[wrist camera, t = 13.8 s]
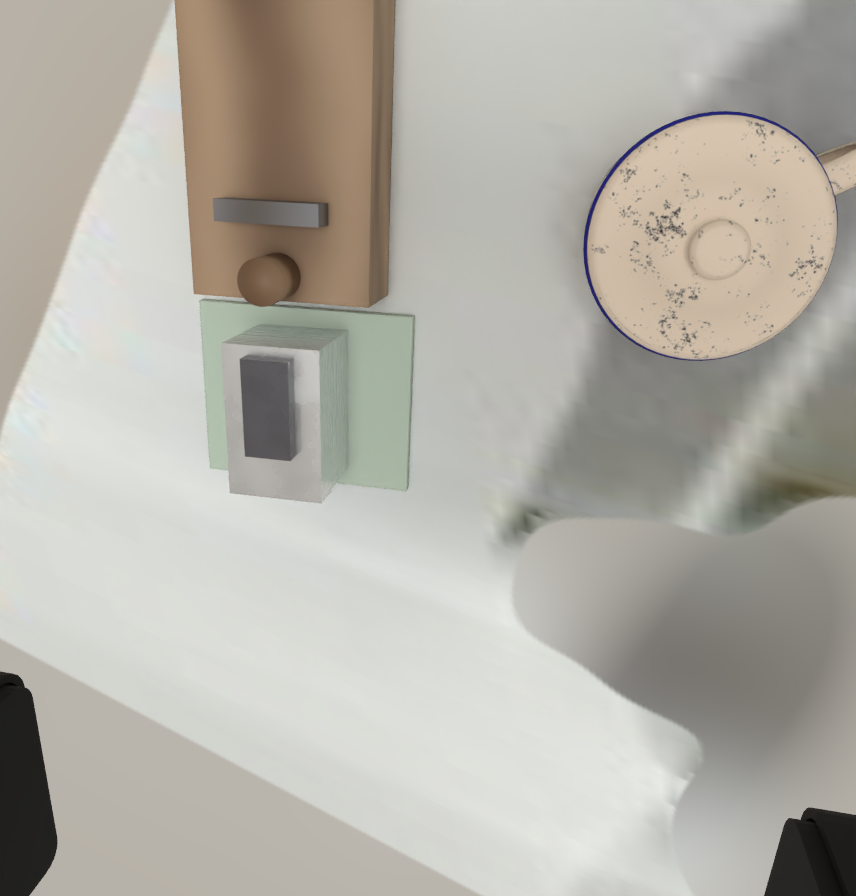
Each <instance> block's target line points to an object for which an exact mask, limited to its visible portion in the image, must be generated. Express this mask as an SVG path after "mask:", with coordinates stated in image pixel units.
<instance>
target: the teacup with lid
mask: <svg viewBox="0 0 856 896" xmlns="http://www.w3.org/2000/svg"><path fill="white" fill-rule="evenodd" d="M855 186H856V141H854V142H851V143H848V144H845V145H842V146H839V147H836V148H833V149H831V150H828V151H826V152H823V153H821V154H818V155H815V154H814V152H813V151H812V150H811V149H810V148H809V147H808V146H807V144H805V143H804V142H803V141H802V140H801V139H800V138H799V137H798V136H796V135H795V134H794V133H792V132H791V131H789V130H788V129H786V128H785V127H783V126H781V125H779V124H777V123H775V122H773V121H770V120H768V119H765V118H763V117H759V116H755V115H752V114H746V113H740V112H727V111H723V112H709V113H701V114H697V115H692V116H688V117H685V118H682V119H679V120H676V121H673V122H671V123H669V124H667V125H665V126H662V127H661V128H659V129H657V130H655V131H654V132H652V133H650V134H649V135H647V136H646V137H644V138H643V139H641V140H640V141H639V142H638V143H636V144H635V145H634V146H633V147H632V148H630V149H629V150H628V151H627V152H626V153H625V154H624V155H623V156H622V157H621V158H620V159H619V160H618V161H617V162H616V163H615V164H614V165H613V167H612V168H611V169H610V170H609V171H608V173H607V174H606V176H605V177H604V179H603V180H602V182H601V183H600V185H599V187H598V189H597V191H596V193H595V195H594V198H593V201H592V204H591V206H590V211H589V215H588V219H587V223H586V228H585V235H584V264H585V270H586V275H587V279H588V283H589V286H590V289H591V291H592V294H593V296H594V298H595V300H596V302H597V304H598V306H599V308H600V309H601V311H602V312H603V314H604V315H605V317H606V318H607V319H608V320H609V322H610V323H611V324H612V325H613V326H614V327H615V328H616V329H617V330H618V331H619V332H620V333H621V334H623V335H624V336H625V337H626V338H628V339H629V340H631V341H632V342H633V343H635V344H637V345H638V346H640V347H642V348H644V349H646V350H648V351H651V352H653V353H656V354H659V355H662V356H665V357H669V358H674V359H681V360H693V361H702V360H714V359H720V358H725V357H729V356H733V355H737V354H740V353H742V352H745V351H748V350H750V349H752V348H755V347H757V346H759V345H761V344H763V343H764V342H766V341H768V340H770V339H771V338H773V337H774V336H776V335H777V334H779V333H780V332H781V331H783V330H784V329H785V328H786V327H787V326H789V325H790V324H791V323H792V322H793V321H794V320H795V319H796V318H797V317H798V316H799V315H800V314H801V313H802V312H803V311H804V309H805V308H806V307H807V306H808V305H809V303H810V302H811V301H812V299H813V298H814V296H815V295H816V293H817V292H818V290H819V288H820V287H821V285H822V283H823V281H824V279H825V277H826V275H827V272H828V270H829V267H830V264H831V262H832V258H833V254H834V251H835V246H836V239H837V229H838V217H837V206H836V200H835V195H838V194H840V193H842V192H844V191H846V190H849V189H851V188H853V187H855Z"/></svg>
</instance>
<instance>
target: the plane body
mask: <svg viewBox="0 0 856 896" xmlns="http://www.w3.org/2000/svg"><path fill="white" fill-rule="evenodd" d="M175 13H176V28H177V44H178V59H179V74H180V89H181V105H182V120H183V135H184V150H185V166H186V181H187V196H188V211H189V227H190V242H191V257H192V272H193V288H194V294H201V295H214V296H226V297H239V298H244V299H245V300H246V301H248V302H249V303H251V304H252V305H255V306H258V307H267V306H270V305H272V304H274V303H277V302H279V301H290V302H303V303H315V304H328V305H341V306H353V307H366V308H369V307H370V306H372V305H373V304H375V303H376V302H378V301H379V300H381V299H382V298H384V297H385V296H387V295H388V260H389V221H390V182H391V143H392V104H393V64H394V25H395V0H175Z"/></svg>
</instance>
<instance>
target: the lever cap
mask: <svg viewBox="0 0 856 896" xmlns="http://www.w3.org/2000/svg"><path fill="white" fill-rule="evenodd" d="M221 358H222V374H223V390H224V406H225V422H226V437H227V453H228V469H229V485H230V493H234V494H243V495H252V496H261V497H270V498H278V499H287V500H296V501H305V502H314V503H322V502H323V501H324V499H325V498H326V497H327V496H328V494H329V493H330V492H331V490H332V489H333V488H334V486H335V485H336V484H337V482H338V481H339V480H340V478H341V477H342V476H343V474H344V473H345V472H346V470H347V469H348V330H339V329H325V328H312V327H298V326H285V325H271V324H258V325H256V326H254V327H252V328H250V329H248V330H246V331H244V332H242V333H240V334H238V335H236V336H234V337H232V338H230V339H228V340H226V341H224V342H222V343H221Z"/></svg>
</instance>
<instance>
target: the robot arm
mask: <svg viewBox="0 0 856 896" xmlns="http://www.w3.org/2000/svg"><path fill="white" fill-rule="evenodd" d="M56 849H57V834H56V828H55V823H54V817H53V811H52V805H51V800H50V794H49V789H48V783H47V777H46V771H45V765H44V760H43V754H42V748H41V742H40V737H39V731H38V725H37V720H36V714H35V708H34V702H33V697H32V694H31V692H30V691H29V690H28V689H27V688H25V687H24V683H23V681H22V679H21V678H20V677H19V676H18V675H15V674H11V673H5V672H0V896H29V895H30V894H31V893H32V891H33V890H34V889H35V887H36V886H37V885H38V883H39V882H40V881H41V879H42V878H43V876H44V875H45V874H46V872H47V871H48V869H49V868H50V866H51V864H52V862H53V860H54V856H55V853H56ZM764 896H856V815H852V814H846V813H840V812H834V811H828V810H822V809H815V808H807V809H806V810H805V811H804V812H803V815H802V817H801V820H798V819H792V818H789V819H788V820H787V821H786V823H785V825H784V828H783V832H782V835H781V838H780V842H779V845H778V849H777V852H776V856H775V859H774V863H773V867H772V870H771V874H770V877H769V881H768V885H767V888H766V891H765V895H764Z"/></svg>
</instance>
